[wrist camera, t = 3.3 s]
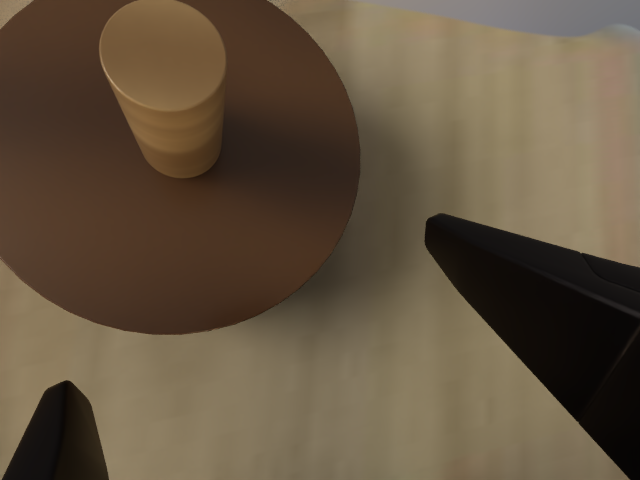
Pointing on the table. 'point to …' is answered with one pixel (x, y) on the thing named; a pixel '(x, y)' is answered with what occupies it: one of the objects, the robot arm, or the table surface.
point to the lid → (170, 159)
